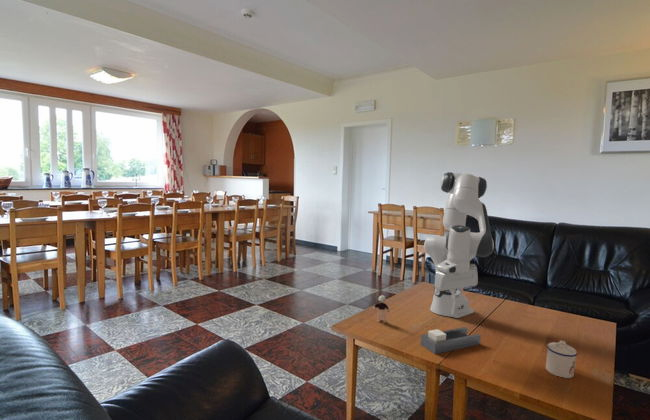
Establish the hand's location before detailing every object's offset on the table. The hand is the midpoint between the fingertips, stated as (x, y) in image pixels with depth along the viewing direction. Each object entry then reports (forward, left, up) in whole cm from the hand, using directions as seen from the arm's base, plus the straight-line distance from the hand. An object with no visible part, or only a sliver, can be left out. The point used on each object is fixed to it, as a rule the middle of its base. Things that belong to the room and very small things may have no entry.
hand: (455, 298), depth 149 cm
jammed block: (+9, 0, -18) cm, 20 cm away
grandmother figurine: (+16, -30, -20) cm, 39 cm away
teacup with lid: (-23, +30, -20) cm, 43 cm away
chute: (+1, 0, -20) cm, 20 cm away
